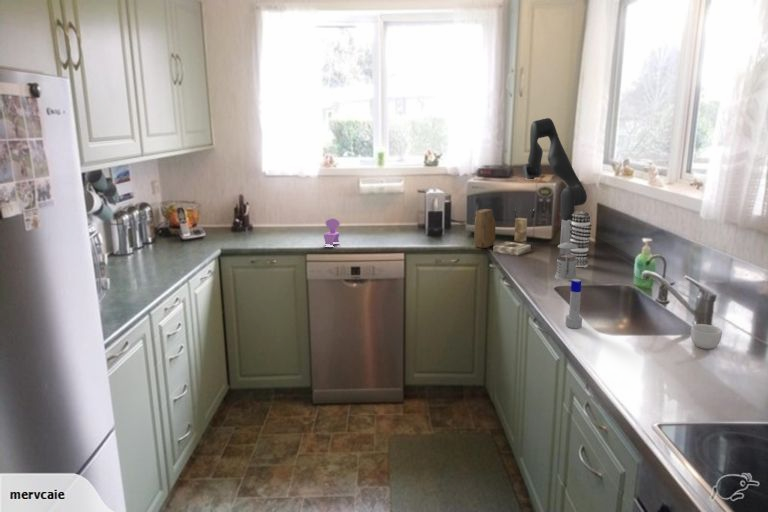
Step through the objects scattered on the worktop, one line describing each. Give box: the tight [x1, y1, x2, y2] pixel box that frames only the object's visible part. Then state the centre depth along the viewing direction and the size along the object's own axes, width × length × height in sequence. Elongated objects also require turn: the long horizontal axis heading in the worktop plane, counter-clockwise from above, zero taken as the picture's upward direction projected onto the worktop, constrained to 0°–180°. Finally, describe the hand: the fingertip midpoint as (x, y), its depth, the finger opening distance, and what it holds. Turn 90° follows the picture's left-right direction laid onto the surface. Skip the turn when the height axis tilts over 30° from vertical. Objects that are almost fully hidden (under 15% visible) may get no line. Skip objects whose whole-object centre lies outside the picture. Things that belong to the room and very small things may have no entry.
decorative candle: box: [569, 210, 592, 268], centre depth 245 cm, size 9×9×25 cm
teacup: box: [690, 323, 723, 350], centre depth 158 cm, size 10×8×5 cm
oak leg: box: [513, 217, 528, 245], centre depth 286 cm, size 5×5×15 cm
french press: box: [554, 220, 578, 281], centre depth 226 cm, size 10×12×25 cm
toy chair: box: [323, 218, 340, 246], centre depth 298 cm, size 8×9×15 cm
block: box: [473, 208, 496, 249], centre depth 287 cm, size 11×8×20 cm
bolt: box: [565, 278, 583, 329], centre depth 174 cm, size 16×5×5 cm
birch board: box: [492, 241, 532, 257], centre depth 277 cm, size 14×13×3 cm
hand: (523, 217), depth 291 cm, fingers open, 8 cm apart
